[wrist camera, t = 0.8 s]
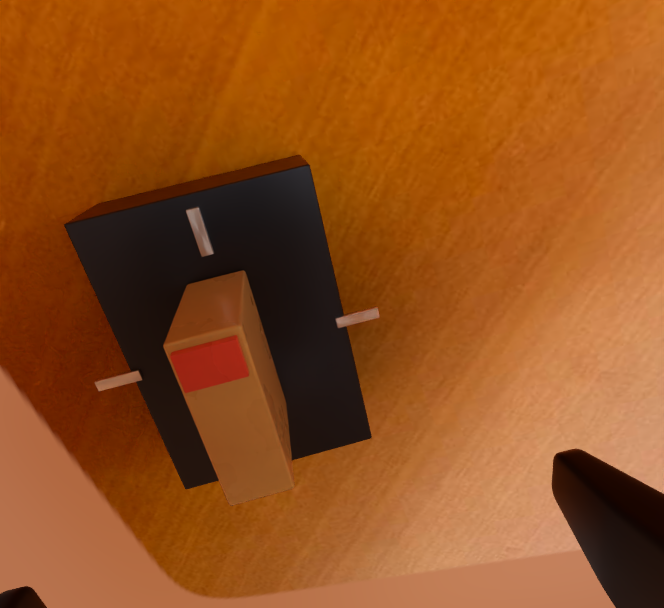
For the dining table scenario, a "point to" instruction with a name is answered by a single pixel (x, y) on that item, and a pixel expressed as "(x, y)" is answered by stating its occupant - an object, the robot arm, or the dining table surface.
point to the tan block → (232, 387)
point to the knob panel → (216, 260)
